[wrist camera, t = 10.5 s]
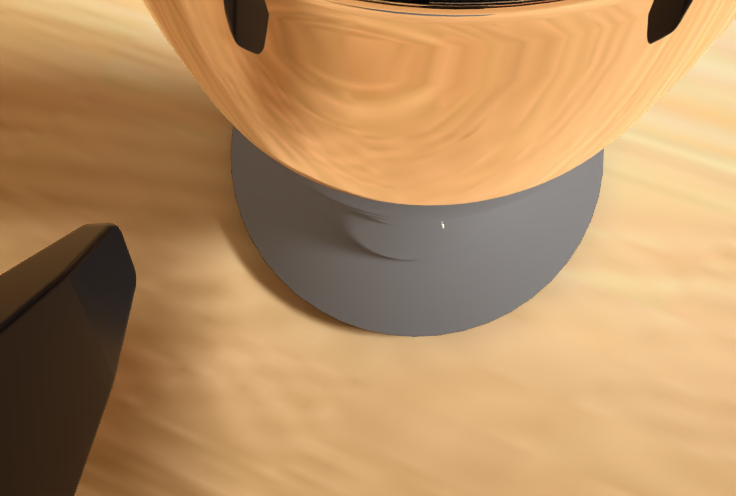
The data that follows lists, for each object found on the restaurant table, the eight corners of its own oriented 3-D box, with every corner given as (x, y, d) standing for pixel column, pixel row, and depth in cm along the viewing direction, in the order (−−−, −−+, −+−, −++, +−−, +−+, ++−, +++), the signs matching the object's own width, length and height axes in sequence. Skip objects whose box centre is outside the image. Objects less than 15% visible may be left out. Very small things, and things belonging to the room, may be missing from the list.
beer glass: (251, 202, 19) (-331, -297, 4) (369, 7, 19) (271, -1087, 4) (457, 321, 18) (749, 289, 3) (573, 115, 18) (1294, -758, 4)
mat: (254, 356, 19) (248, 358, 18) (222, 13, 20) (215, 0, 19) (623, 313, 18) (633, 312, 18) (564, -34, 20) (571, -49, 19)
